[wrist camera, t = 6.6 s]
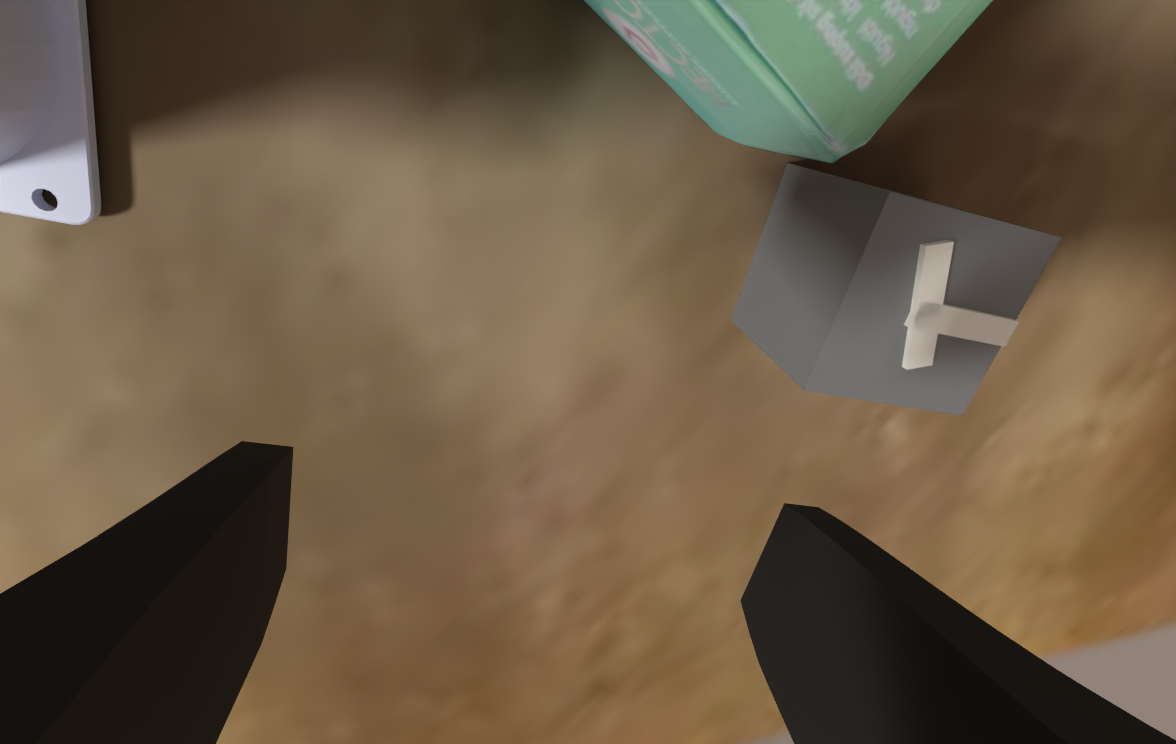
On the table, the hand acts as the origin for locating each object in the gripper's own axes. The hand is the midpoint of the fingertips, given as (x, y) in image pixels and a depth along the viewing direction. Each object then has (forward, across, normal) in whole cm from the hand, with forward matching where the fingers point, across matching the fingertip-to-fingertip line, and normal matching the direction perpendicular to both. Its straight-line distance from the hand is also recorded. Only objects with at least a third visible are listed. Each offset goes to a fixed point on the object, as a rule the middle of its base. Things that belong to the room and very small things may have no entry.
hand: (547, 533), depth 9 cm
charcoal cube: (+11, -10, -3) cm, 15 cm away
